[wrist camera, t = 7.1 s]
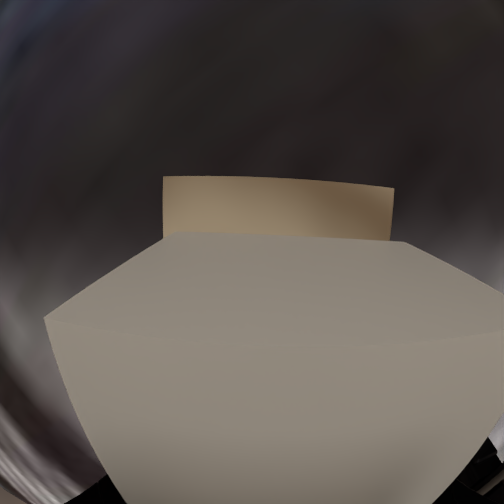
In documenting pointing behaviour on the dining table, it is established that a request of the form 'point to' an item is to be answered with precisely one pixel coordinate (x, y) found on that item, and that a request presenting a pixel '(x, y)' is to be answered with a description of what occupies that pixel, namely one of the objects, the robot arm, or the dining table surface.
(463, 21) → the dining table surface
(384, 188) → the base
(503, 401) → the block
